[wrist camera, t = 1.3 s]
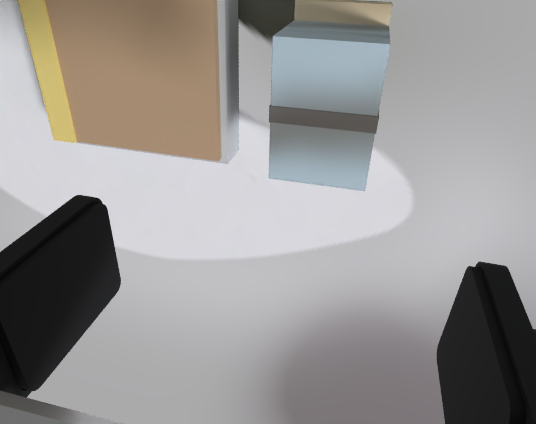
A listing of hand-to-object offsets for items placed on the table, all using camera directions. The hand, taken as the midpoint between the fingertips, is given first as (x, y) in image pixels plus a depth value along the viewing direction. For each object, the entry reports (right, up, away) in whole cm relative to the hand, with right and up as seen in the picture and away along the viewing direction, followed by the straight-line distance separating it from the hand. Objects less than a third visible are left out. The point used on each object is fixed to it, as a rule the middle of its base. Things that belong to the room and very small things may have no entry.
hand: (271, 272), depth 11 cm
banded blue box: (+4, +9, +14) cm, 17 cm away
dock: (-8, +12, +15) cm, 21 cm away
